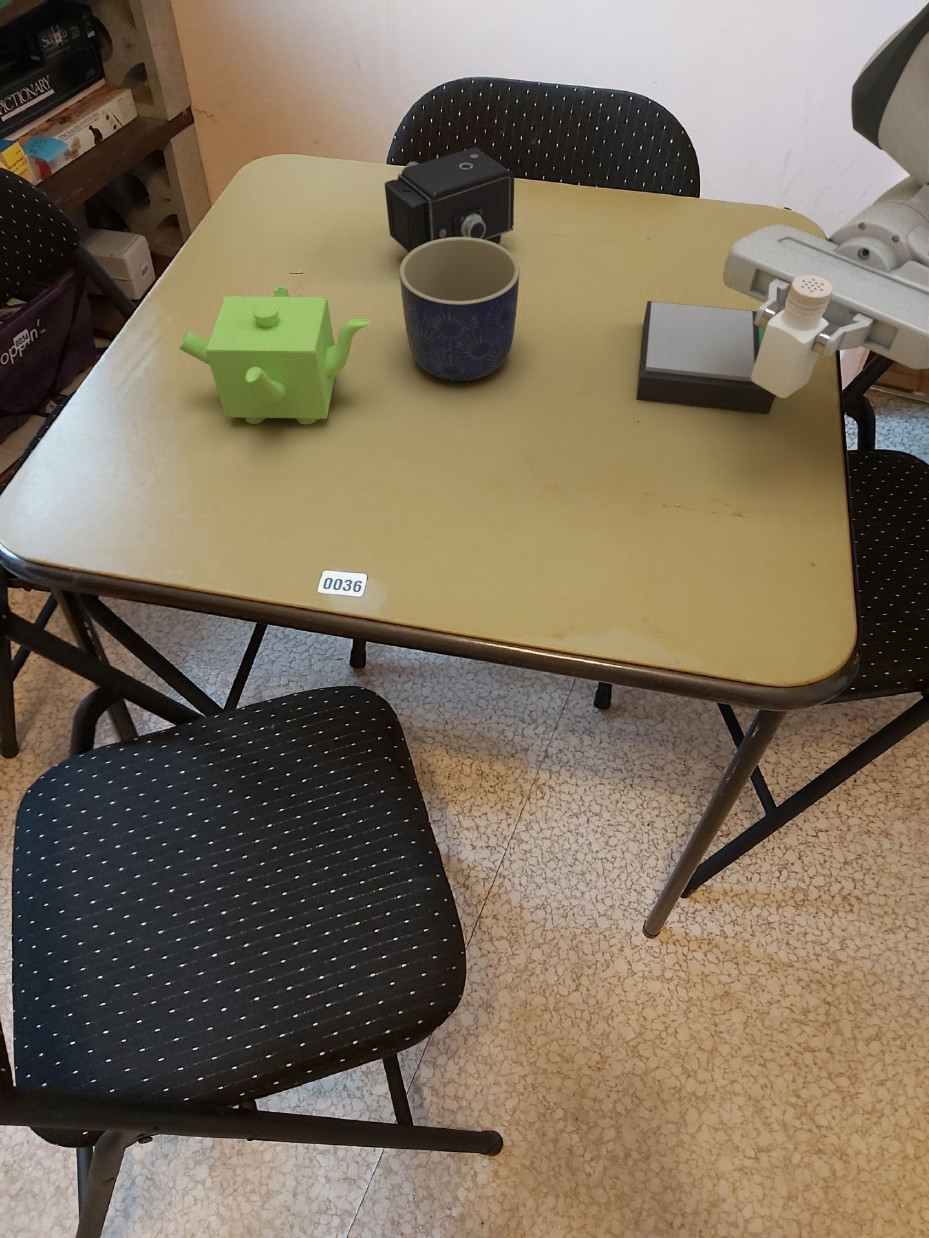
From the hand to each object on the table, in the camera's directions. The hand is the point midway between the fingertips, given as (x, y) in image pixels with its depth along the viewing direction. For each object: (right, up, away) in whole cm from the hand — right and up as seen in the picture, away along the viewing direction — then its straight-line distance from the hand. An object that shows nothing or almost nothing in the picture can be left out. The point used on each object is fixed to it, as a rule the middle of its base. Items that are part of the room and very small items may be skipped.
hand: (792, 333), depth 70 cm
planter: (-28, +6, +25) cm, 38 cm away
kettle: (-47, -1, +20) cm, 51 cm away
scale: (-1, +4, +23) cm, 24 cm away
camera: (-29, +23, +38) cm, 53 cm away
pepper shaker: (+1, -3, +5) cm, 6 cm away
